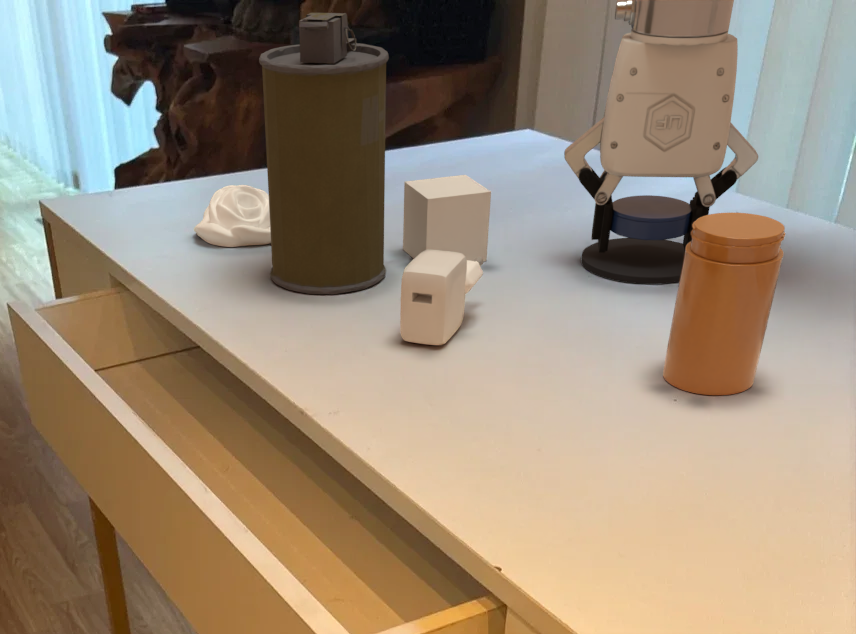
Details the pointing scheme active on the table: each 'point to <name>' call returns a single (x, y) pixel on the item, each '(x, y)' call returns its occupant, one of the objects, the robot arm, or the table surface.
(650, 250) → the coaster
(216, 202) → the rose
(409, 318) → the power adapter
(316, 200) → the canister
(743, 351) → the jar
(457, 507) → the table surface
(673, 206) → the jar lid
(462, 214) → the beige cube
